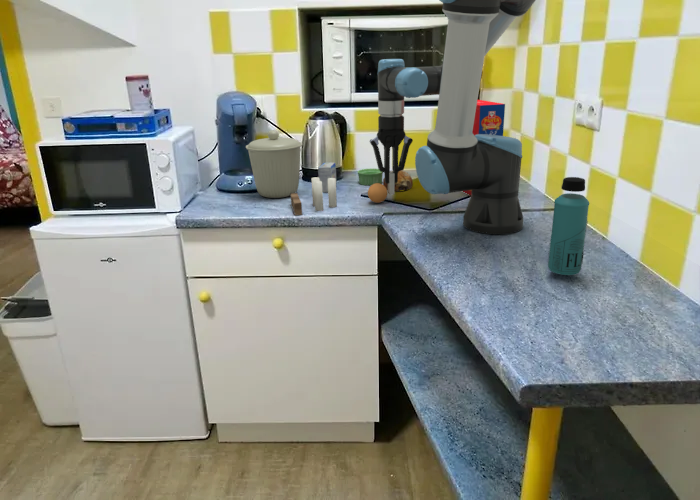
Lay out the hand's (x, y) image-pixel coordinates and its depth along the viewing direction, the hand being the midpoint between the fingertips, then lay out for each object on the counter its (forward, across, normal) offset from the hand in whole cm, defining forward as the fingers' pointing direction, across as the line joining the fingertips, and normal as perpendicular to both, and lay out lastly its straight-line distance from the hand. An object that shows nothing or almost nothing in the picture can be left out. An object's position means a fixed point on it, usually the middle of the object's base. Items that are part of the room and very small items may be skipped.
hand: (391, 193), depth 163 cm
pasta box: (+3, -28, -10) cm, 30 cm away
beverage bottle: (+2, -20, +65) cm, 68 cm away
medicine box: (+3, +17, -20) cm, 26 cm away
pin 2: (+2, +23, +4) cm, 23 cm away
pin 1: (+2, +23, -1) cm, 23 cm away
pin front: (+2, +18, +2) cm, 19 cm away
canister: (+3, +34, -18) cm, 39 cm away
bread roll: (+3, -6, -15) cm, 16 cm away
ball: (-1, +4, +1) cm, 5 cm away
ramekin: (+3, +2, -25) cm, 25 cm away
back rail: (+2, +29, +2) cm, 30 cm away
